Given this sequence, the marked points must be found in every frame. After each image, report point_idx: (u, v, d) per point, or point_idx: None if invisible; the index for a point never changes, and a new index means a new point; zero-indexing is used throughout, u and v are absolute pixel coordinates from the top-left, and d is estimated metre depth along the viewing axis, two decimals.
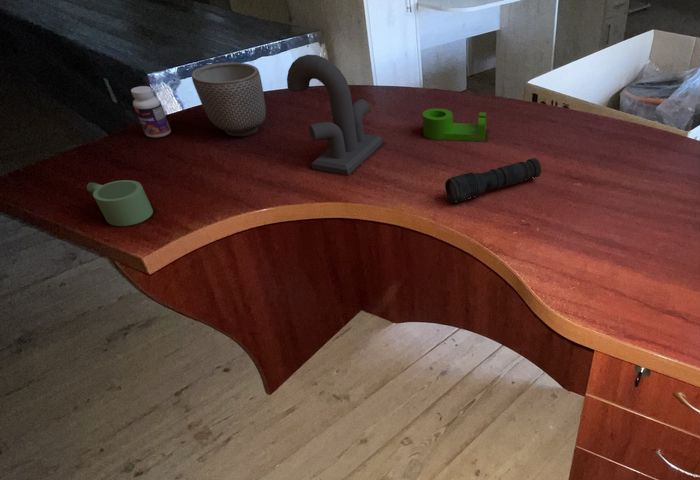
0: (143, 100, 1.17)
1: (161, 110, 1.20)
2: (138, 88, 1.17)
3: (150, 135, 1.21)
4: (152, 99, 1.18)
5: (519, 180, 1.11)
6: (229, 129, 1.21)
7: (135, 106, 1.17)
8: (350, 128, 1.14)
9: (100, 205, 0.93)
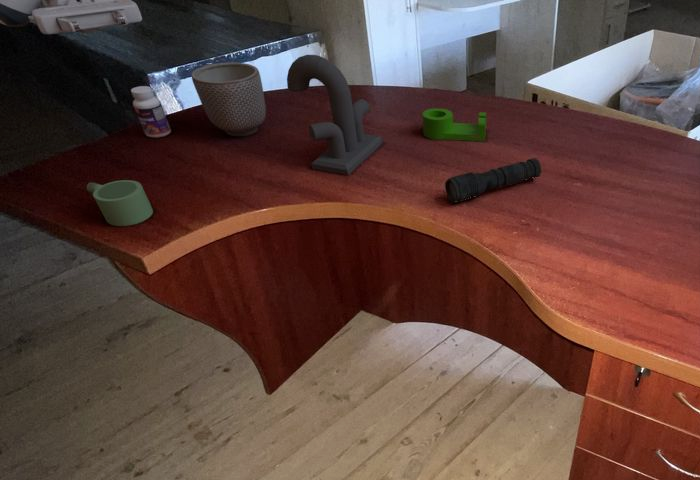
0: (143, 100, 1.17)
1: (161, 110, 1.20)
2: (138, 88, 1.17)
3: (150, 135, 1.21)
4: (152, 99, 1.18)
5: (519, 180, 1.11)
6: (229, 129, 1.21)
7: (135, 106, 1.17)
8: (350, 128, 1.14)
9: (100, 205, 0.93)
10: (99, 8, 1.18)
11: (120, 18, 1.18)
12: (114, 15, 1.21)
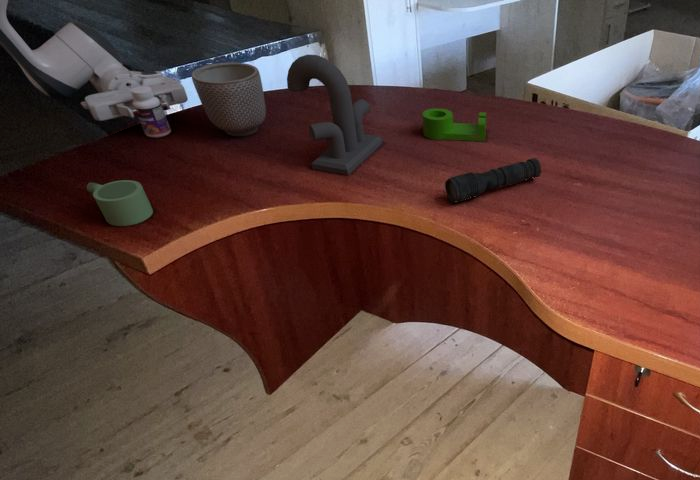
0: (143, 100, 1.17)
1: (161, 109, 1.20)
2: (138, 88, 1.17)
3: (150, 135, 1.21)
4: (152, 99, 1.18)
5: (519, 180, 1.11)
6: (229, 129, 1.21)
7: (135, 106, 1.17)
8: (350, 128, 1.14)
9: (100, 205, 0.93)
10: None
11: (163, 104, 1.21)
12: None
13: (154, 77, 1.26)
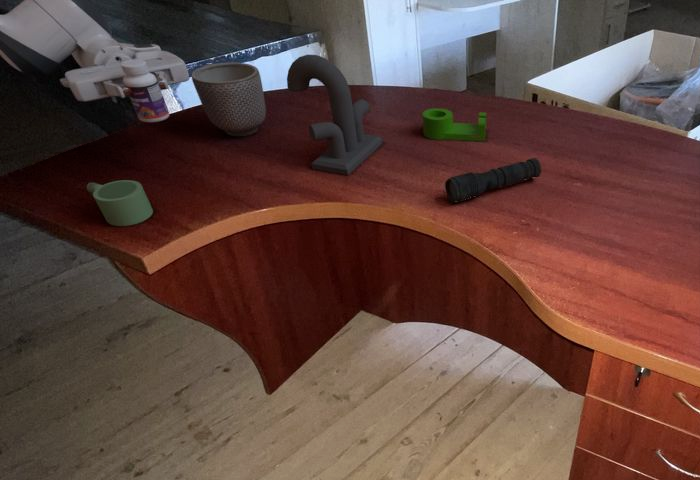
0: (135, 76, 0.96)
1: (158, 88, 0.99)
2: (129, 62, 0.96)
3: (145, 119, 1.01)
4: (147, 75, 0.97)
5: (519, 180, 1.11)
6: (229, 129, 1.21)
7: (126, 84, 0.97)
8: (350, 128, 1.14)
9: (100, 205, 0.93)
10: None
11: (160, 82, 1.00)
12: None
13: (149, 51, 1.06)
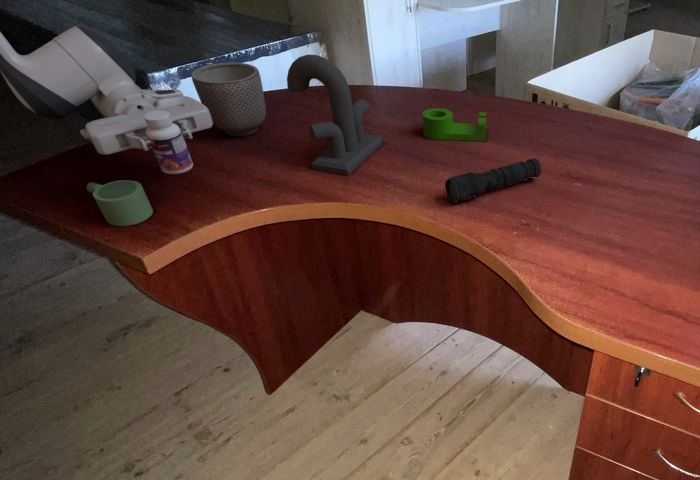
0: (159, 128, 0.92)
1: (182, 140, 0.95)
2: (153, 113, 0.92)
3: (168, 171, 0.96)
4: (170, 127, 0.93)
5: (519, 180, 1.11)
6: (229, 129, 1.21)
7: (149, 136, 0.92)
8: (350, 128, 1.14)
9: (100, 205, 0.93)
10: None
11: (184, 133, 0.96)
12: None
13: (171, 97, 1.01)
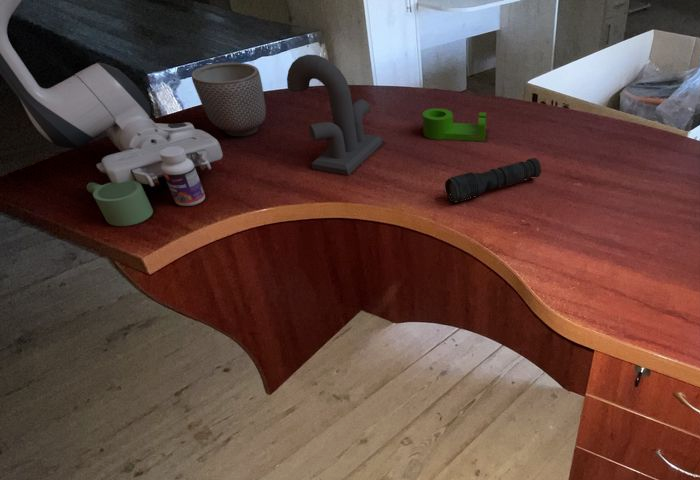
0: (174, 164, 0.96)
1: (195, 174, 1.00)
2: (168, 149, 0.97)
3: (182, 203, 1.01)
4: (185, 162, 0.98)
5: (519, 180, 1.11)
6: (229, 129, 1.21)
7: (164, 171, 0.97)
8: (350, 128, 1.14)
9: (100, 205, 0.93)
10: None
11: (203, 164, 1.01)
12: (193, 157, 1.04)
13: (183, 130, 1.06)
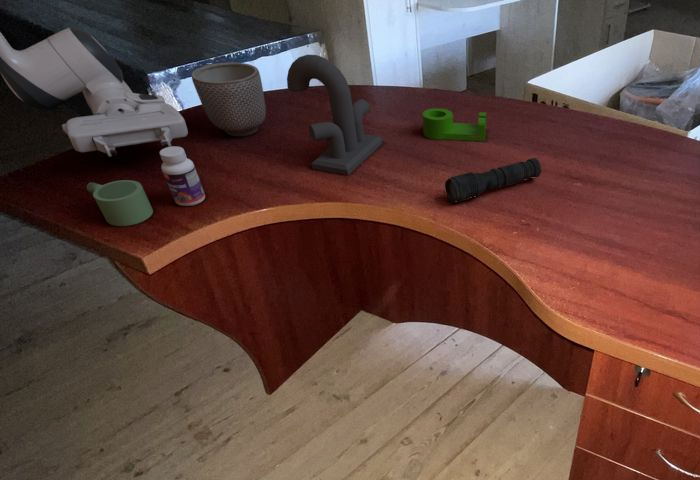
0: (174, 164, 0.96)
1: (195, 174, 1.00)
2: (168, 149, 0.97)
3: (182, 203, 1.01)
4: (185, 162, 0.98)
5: (519, 180, 1.11)
6: (229, 129, 1.21)
7: (164, 171, 0.97)
8: (350, 128, 1.14)
9: (100, 205, 0.93)
10: (142, 125, 1.06)
11: (163, 142, 1.05)
12: (157, 131, 1.08)
13: (153, 103, 1.10)
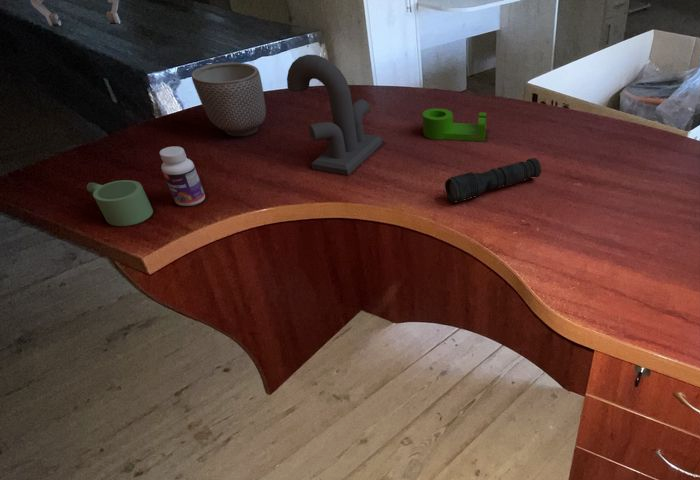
0: (174, 164, 0.96)
1: (195, 174, 1.00)
2: (168, 149, 0.97)
3: (182, 203, 1.01)
4: (185, 162, 0.98)
5: (519, 180, 1.11)
6: (229, 129, 1.21)
7: (164, 171, 0.97)
8: (350, 128, 1.14)
9: (100, 205, 0.93)
10: None
11: None
12: None
13: None
